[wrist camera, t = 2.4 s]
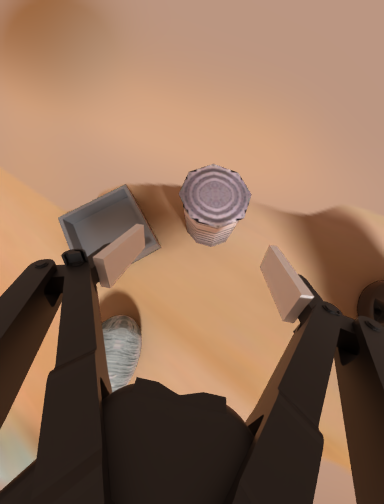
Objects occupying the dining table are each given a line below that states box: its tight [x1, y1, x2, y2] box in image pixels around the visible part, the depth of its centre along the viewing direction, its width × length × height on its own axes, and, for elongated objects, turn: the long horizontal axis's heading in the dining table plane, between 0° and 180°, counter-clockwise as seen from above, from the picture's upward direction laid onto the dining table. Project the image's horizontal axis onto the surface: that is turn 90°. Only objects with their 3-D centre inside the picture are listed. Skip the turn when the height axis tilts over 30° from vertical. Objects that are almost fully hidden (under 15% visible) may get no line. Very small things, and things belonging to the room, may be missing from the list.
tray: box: [58, 184, 161, 282], centre depth 34 cm, size 17×17×4 cm
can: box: [179, 164, 251, 247], centre depth 30 cm, size 11×11×12 cm
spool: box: [102, 315, 142, 392], centre depth 26 cm, size 14×10×10 cm
